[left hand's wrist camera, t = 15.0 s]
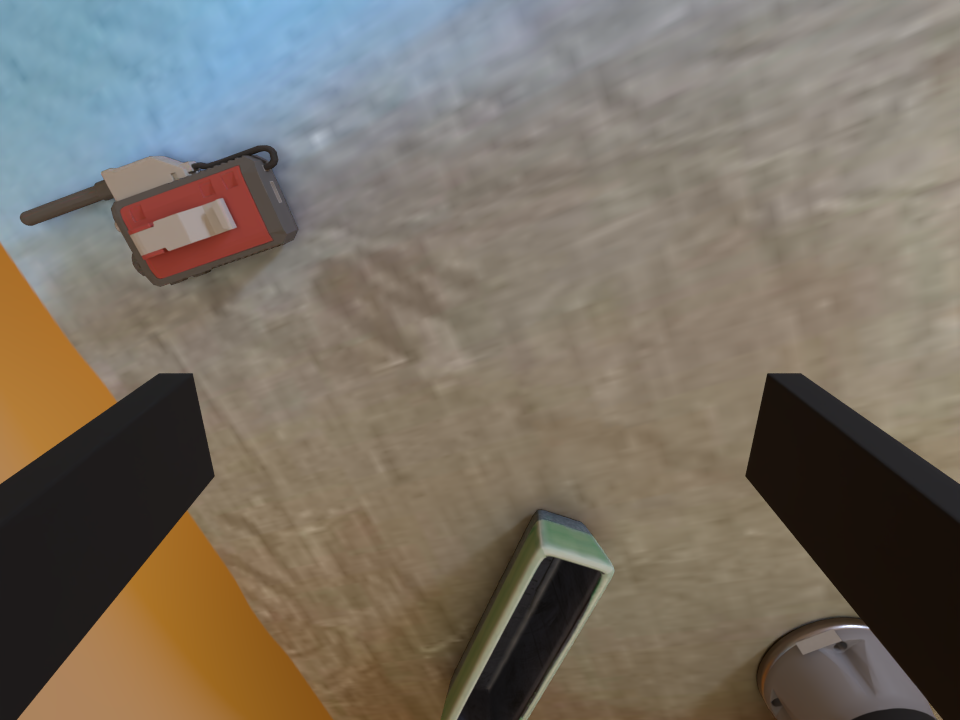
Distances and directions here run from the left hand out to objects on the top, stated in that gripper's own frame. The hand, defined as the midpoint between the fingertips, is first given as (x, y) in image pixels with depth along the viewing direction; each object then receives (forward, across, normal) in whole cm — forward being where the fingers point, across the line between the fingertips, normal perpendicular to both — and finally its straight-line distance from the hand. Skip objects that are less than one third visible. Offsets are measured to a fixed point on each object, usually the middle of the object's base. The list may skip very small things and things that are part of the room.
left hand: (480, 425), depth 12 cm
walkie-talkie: (+31, -24, +1) cm, 39 cm away
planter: (+31, +3, -38) cm, 50 cm away
